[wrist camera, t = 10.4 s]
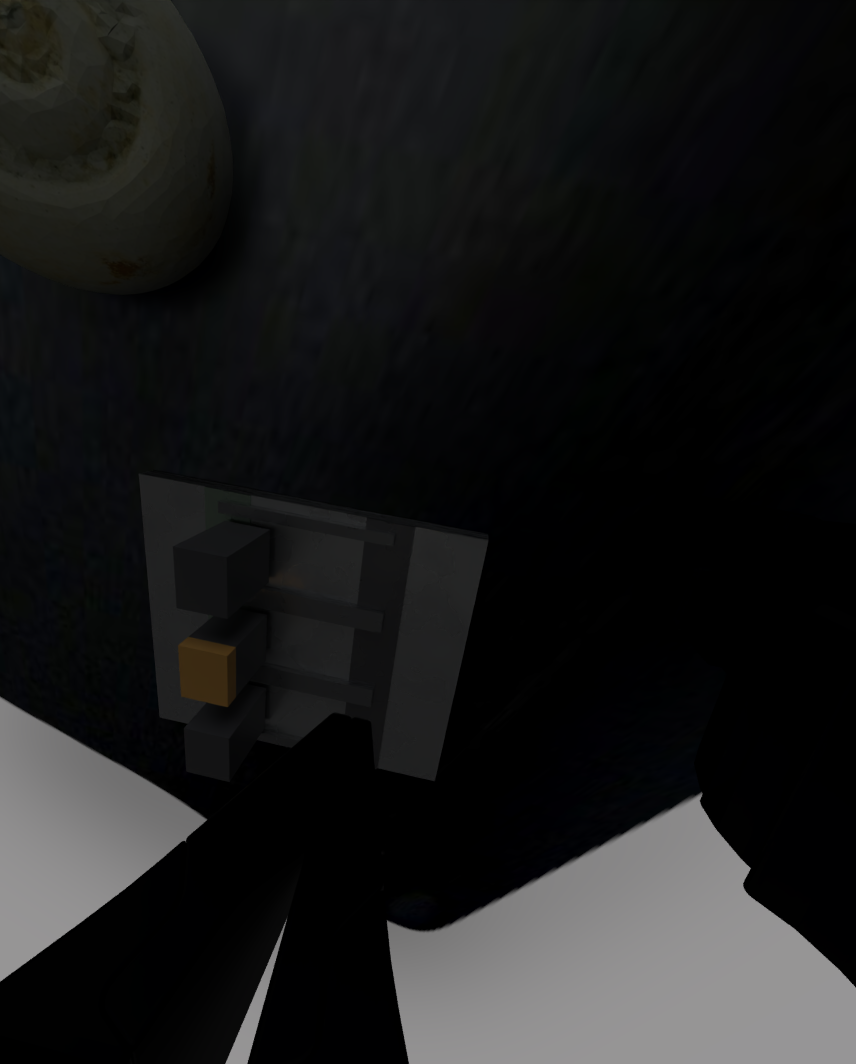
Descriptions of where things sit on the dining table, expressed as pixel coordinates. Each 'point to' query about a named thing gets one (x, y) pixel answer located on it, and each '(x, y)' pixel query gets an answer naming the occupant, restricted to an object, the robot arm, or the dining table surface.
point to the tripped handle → (222, 657)
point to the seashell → (108, 144)
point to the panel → (328, 613)
